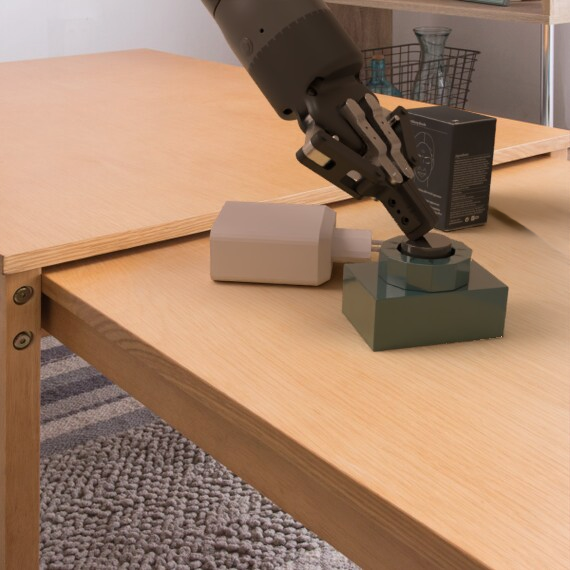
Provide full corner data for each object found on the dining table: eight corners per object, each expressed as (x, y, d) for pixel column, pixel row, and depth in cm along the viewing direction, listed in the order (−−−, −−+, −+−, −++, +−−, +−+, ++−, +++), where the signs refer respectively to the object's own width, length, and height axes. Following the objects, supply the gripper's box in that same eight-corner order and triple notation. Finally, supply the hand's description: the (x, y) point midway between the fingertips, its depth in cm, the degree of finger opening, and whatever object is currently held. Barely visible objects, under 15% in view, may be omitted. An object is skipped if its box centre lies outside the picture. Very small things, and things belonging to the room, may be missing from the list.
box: (488, 224, 91) (499, 117, 87) (444, 233, 88) (453, 123, 84) (435, 203, 97) (443, 102, 93) (393, 211, 94) (399, 108, 90)
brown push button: (437, 262, 69) (439, 229, 68) (457, 279, 66) (460, 246, 65) (391, 266, 68) (393, 233, 67) (410, 284, 65) (412, 249, 64)
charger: (395, 295, 74) (209, 285, 75) (395, 255, 82) (228, 247, 84) (398, 239, 72) (208, 229, 74) (398, 204, 81) (228, 196, 82)
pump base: (461, 300, 73) (468, 228, 71) (503, 338, 67) (512, 260, 65) (341, 312, 71) (344, 238, 68) (373, 352, 64) (377, 272, 62)
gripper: (264, 12, 60) (419, 227, 59) (367, -1, 70) (502, 182, 69) (202, 85, 65) (344, 286, 63) (307, 63, 75) (432, 236, 73)
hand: (426, 232), depth 66 cm, fingers closed
